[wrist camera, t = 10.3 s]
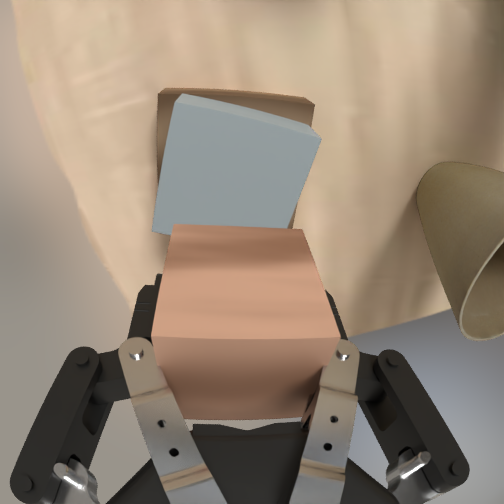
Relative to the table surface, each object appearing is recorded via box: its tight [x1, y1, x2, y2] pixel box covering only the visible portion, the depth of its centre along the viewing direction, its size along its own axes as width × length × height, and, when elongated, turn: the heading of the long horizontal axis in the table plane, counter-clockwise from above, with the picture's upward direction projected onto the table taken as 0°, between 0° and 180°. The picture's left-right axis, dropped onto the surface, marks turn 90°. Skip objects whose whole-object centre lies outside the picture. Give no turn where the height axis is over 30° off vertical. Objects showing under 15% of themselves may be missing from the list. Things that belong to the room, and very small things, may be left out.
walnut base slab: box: [157, 88, 315, 229], centre depth 27 cm, size 12×12×4 cm
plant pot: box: [416, 162, 504, 341], centre depth 26 cm, size 15×15×16 cm
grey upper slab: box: [152, 93, 321, 235], centre depth 24 cm, size 10×10×4 cm
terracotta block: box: [151, 224, 341, 420], centre depth 13 cm, size 6×6×6 cm
